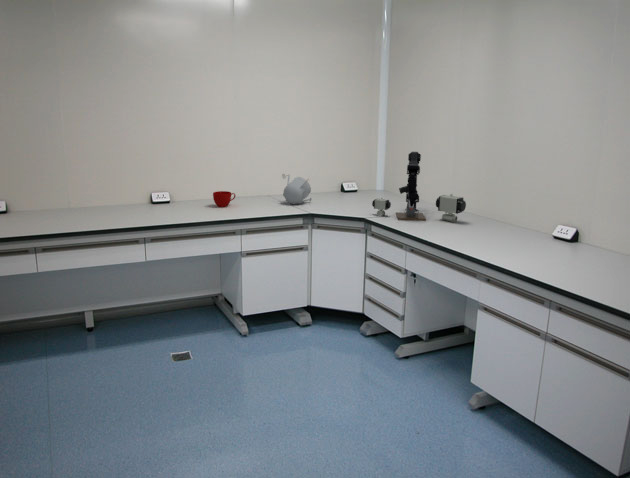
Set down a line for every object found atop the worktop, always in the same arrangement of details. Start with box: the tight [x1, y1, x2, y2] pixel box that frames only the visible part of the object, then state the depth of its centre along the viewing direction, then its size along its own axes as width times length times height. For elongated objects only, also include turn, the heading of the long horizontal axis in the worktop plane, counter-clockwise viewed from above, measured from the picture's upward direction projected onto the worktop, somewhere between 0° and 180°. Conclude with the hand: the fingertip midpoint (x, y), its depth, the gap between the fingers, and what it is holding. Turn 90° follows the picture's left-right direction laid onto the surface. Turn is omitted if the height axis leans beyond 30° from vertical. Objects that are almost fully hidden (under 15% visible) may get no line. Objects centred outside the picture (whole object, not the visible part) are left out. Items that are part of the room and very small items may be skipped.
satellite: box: [281, 173, 312, 205], centre depth 404 cm, size 23×20×25 cm
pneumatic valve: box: [371, 197, 392, 217], centre depth 367 cm, size 6×12×12 cm, turn 60°
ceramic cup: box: [212, 190, 236, 208], centre depth 393 cm, size 13×17×10 cm
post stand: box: [395, 206, 427, 222], centre depth 362 cm, size 18×18×7 cm
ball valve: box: [435, 193, 467, 223], centre depth 352 cm, size 18×8×18 cm, turn 49°
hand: (411, 205), depth 361 cm, fingers open, 4 cm apart
